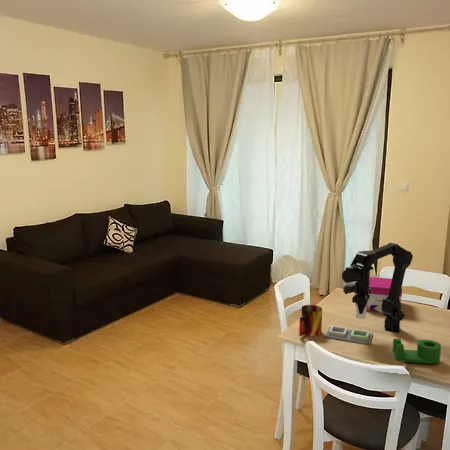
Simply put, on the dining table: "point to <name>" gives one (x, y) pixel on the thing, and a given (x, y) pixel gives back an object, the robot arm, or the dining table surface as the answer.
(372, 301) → the decorative box
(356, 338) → the panel
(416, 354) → the green bracket
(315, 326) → the mug
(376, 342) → the dining table surface
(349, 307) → the dining table surface
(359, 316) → the plug
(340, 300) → the dining table surface
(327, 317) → the dining table surface
